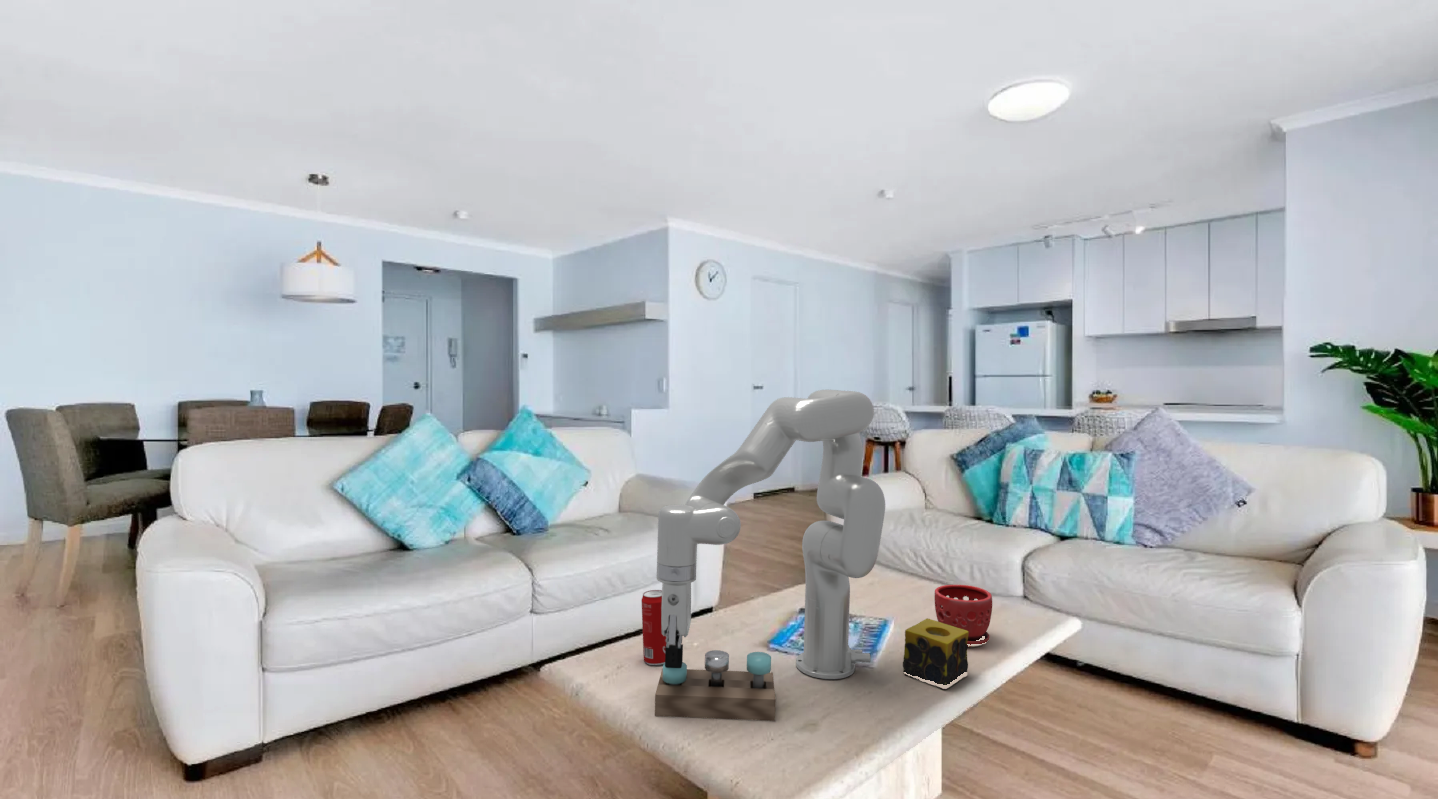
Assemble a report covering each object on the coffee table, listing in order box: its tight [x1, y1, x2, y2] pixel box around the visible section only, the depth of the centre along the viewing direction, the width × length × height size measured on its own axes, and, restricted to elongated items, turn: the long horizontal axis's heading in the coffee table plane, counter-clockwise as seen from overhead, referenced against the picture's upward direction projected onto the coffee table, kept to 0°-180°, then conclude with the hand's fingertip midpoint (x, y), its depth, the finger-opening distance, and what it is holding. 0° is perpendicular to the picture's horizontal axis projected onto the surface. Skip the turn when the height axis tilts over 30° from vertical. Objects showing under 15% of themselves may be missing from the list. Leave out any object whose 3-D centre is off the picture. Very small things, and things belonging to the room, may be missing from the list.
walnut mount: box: [654, 667, 776, 722], centre depth 128 cm, size 22×11×4 cm, turn 88°
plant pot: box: [934, 584, 993, 645], centre depth 162 cm, size 13×13×12 cm
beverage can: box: [641, 589, 666, 666], centre depth 146 cm, size 6×6×15 cm
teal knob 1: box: [662, 661, 688, 685], centre depth 128 cm, size 5×5×6 cm
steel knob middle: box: [704, 649, 730, 687], centre depth 128 cm, size 5×5×6 cm
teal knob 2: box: [746, 651, 772, 689], centre depth 127 cm, size 5×5×6 cm
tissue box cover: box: [902, 618, 969, 685], centre depth 142 cm, size 10×10×10 cm
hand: (673, 665), depth 128 cm, fingers closed
